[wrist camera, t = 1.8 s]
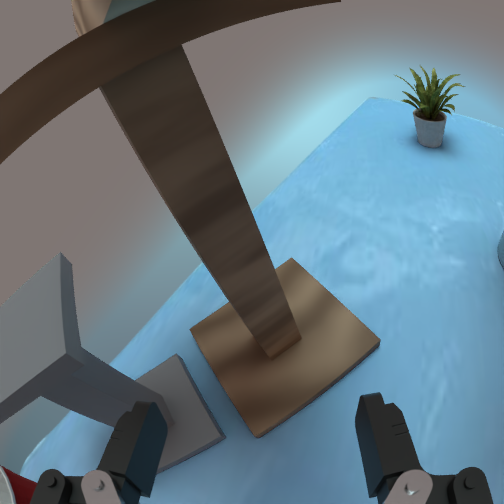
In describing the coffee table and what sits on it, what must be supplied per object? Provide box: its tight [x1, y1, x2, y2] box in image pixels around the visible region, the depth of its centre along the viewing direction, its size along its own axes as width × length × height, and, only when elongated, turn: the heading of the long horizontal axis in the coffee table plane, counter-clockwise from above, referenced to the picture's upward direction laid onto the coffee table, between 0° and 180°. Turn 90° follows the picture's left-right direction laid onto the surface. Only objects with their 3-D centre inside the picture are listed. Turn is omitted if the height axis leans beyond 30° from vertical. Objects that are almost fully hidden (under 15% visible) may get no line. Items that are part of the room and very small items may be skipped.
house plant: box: [397, 67, 464, 148], centre depth 43 cm, size 14×14×16 cm
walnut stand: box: [0, 0, 380, 438], centre depth 22 cm, size 16×16×32 cm
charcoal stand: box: [0, 252, 226, 474], centre depth 22 cm, size 12×12×22 cm
